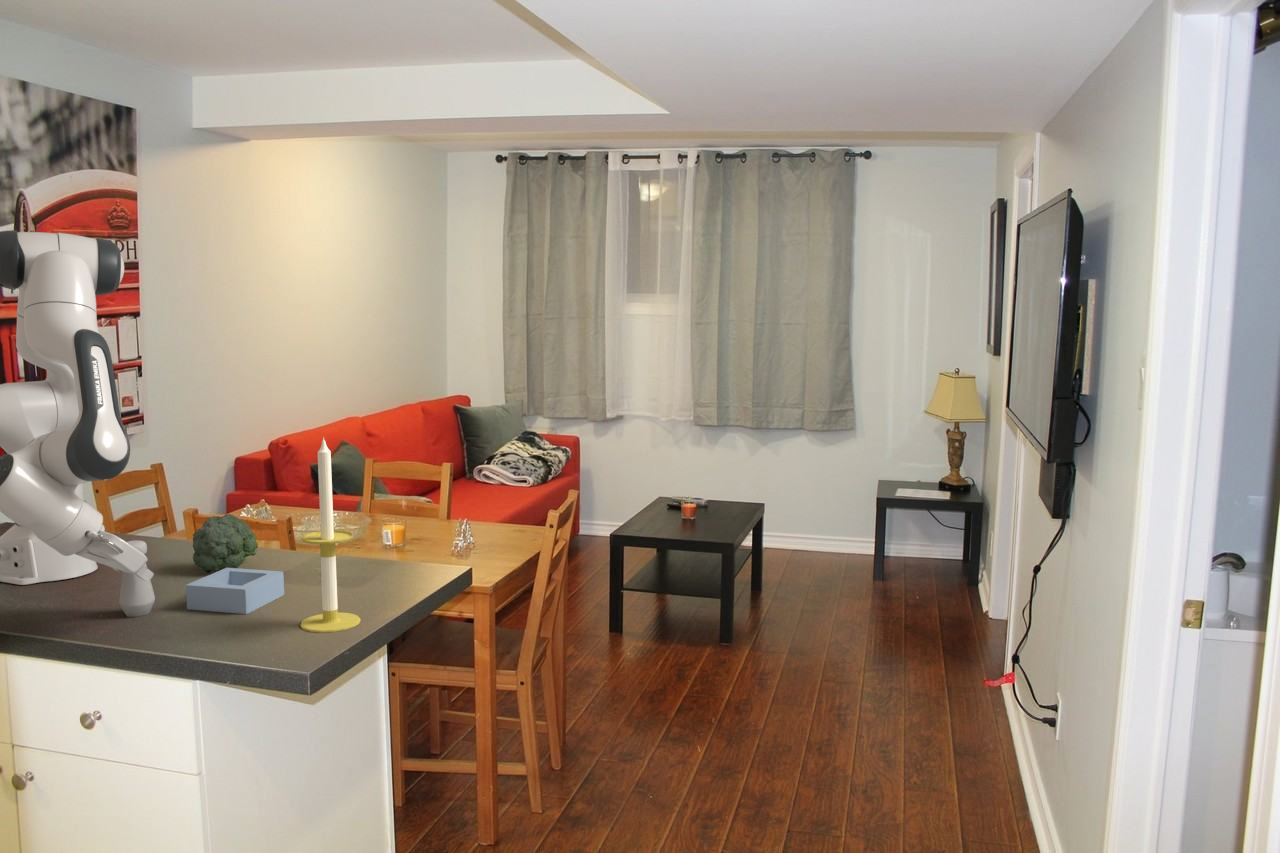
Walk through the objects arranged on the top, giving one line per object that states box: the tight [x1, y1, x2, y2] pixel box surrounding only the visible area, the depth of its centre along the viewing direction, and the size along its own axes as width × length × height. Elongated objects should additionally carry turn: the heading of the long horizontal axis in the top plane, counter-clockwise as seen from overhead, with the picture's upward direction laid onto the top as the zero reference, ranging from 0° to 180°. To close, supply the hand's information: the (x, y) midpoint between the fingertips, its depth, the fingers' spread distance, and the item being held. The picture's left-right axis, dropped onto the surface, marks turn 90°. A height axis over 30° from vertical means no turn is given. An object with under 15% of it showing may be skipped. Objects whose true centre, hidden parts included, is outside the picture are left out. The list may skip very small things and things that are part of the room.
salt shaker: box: [118, 540, 156, 618], centre depth 182 cm, size 6×6×13 cm
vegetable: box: [192, 513, 259, 574], centre depth 212 cm, size 12×13×15 cm
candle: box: [300, 436, 361, 634], centre depth 175 cm, size 10×10×32 cm
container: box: [185, 567, 285, 615], centre depth 189 cm, size 12×12×4 cm
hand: (136, 573), depth 182 cm, fingers open, 8 cm apart
